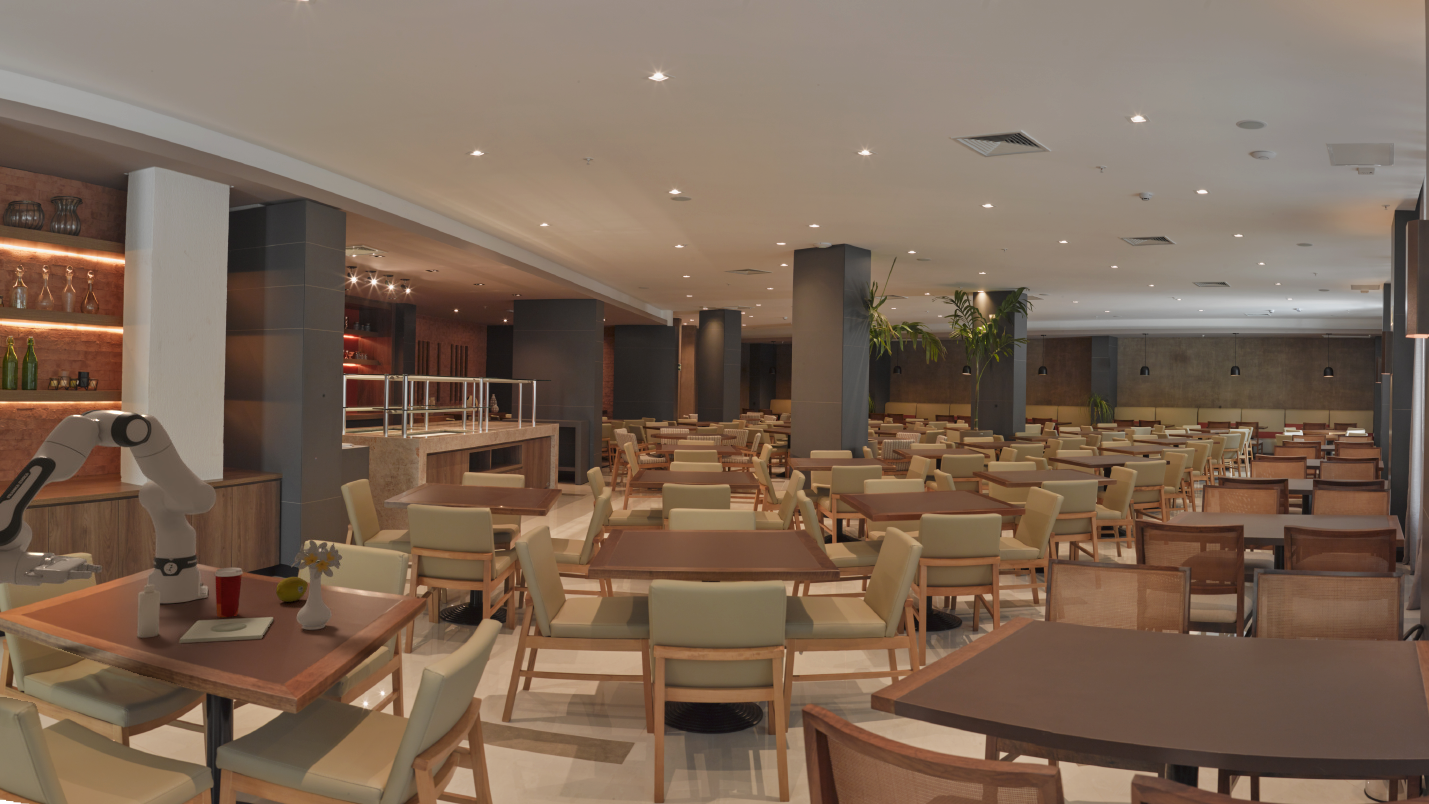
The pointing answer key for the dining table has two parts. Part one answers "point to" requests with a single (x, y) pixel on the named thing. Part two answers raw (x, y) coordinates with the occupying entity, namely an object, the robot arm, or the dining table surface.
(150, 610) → the cream bottle
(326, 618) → the flower vase
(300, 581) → the lemon
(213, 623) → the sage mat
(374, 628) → the dining table surface
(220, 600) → the paper cup
